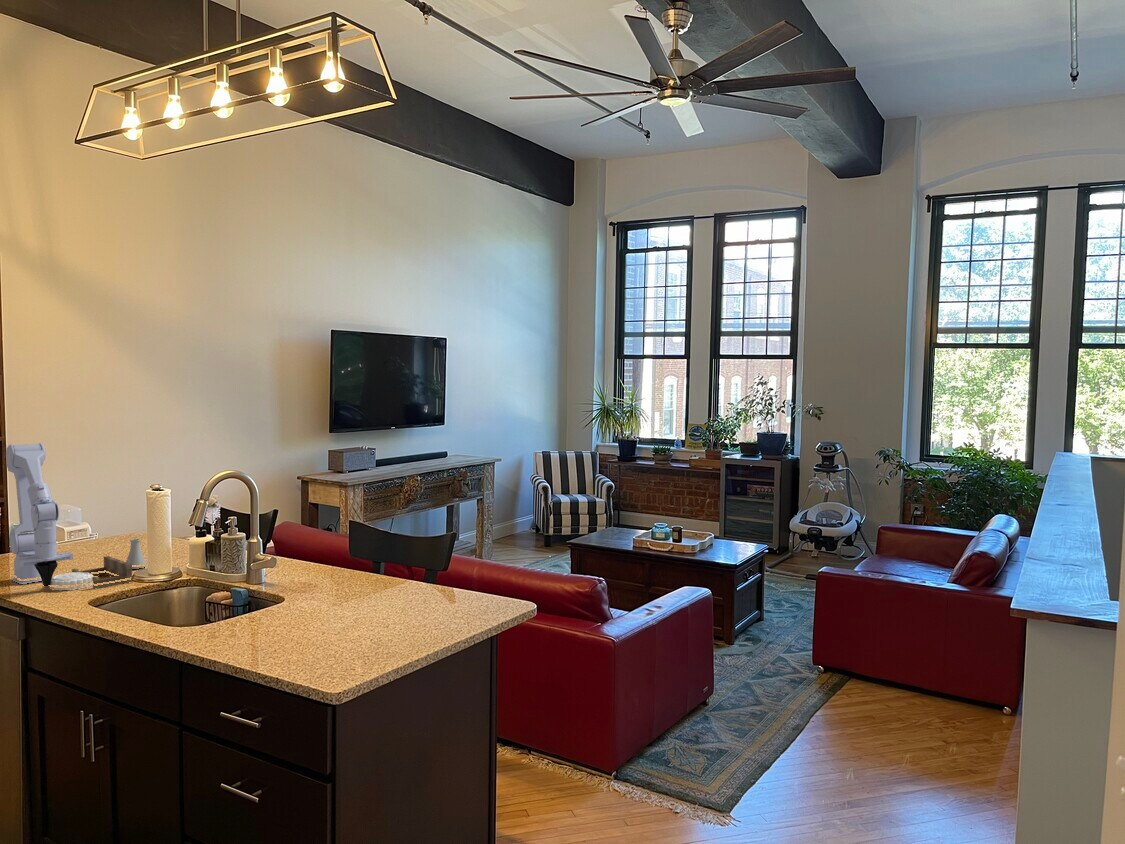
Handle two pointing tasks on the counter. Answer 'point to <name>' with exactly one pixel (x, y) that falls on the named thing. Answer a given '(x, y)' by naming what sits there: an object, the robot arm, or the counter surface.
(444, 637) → the counter surface
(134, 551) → the flask
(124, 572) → the lid holder
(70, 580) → the mooncake
